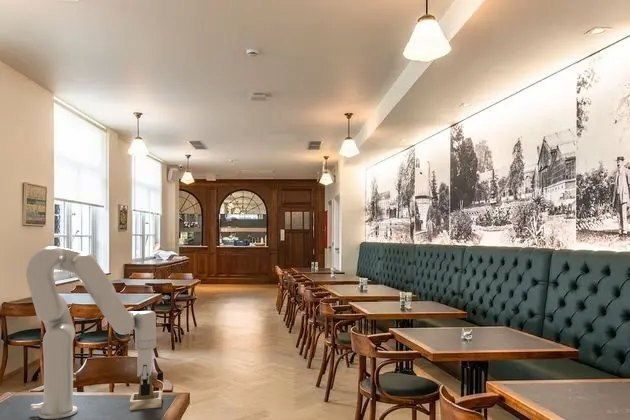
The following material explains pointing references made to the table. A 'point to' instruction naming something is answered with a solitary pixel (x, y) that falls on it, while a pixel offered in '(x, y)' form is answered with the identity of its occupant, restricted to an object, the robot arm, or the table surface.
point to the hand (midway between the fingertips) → (145, 392)
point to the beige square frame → (146, 401)
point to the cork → (150, 389)
